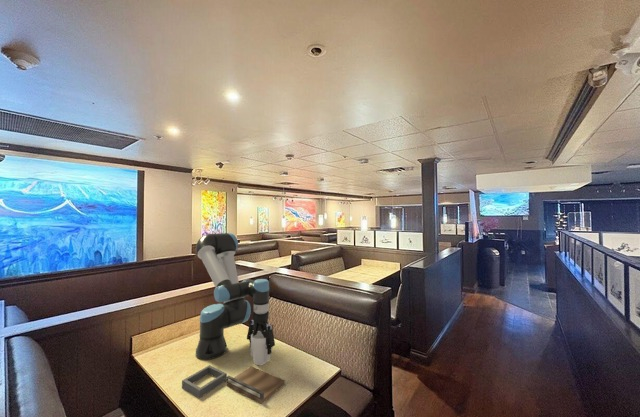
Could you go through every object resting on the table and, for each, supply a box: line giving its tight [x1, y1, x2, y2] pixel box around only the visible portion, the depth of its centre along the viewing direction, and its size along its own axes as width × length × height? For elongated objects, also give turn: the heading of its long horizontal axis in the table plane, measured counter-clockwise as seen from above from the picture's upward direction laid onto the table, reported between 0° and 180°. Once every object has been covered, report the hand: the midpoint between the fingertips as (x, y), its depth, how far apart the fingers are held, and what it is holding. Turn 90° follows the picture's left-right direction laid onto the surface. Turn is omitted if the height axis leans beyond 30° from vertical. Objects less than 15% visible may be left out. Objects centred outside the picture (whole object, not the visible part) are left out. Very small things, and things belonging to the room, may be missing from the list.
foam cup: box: [251, 331, 267, 366], centre depth 128 cm, size 10×9×13 cm
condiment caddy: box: [181, 365, 228, 399], centre depth 110 cm, size 12×13×3 cm
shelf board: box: [226, 365, 286, 405], centre depth 110 cm, size 20×14×4 cm
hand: (260, 357), depth 128 cm, fingers closed on foam cup, 9 cm apart
